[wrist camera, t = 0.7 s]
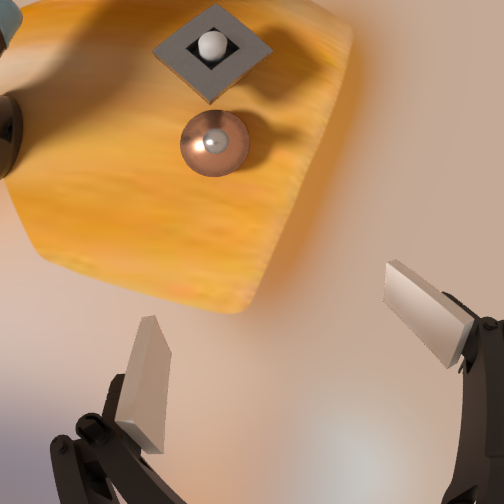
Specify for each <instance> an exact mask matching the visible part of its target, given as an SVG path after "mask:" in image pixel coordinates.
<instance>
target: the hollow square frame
mask: <svg viewBox="0 0 504 504" xmlns="http://www.w3.org/2000/svg"><path fill="white" fill-rule="evenodd" d="M210 31H217V32H220V33H222V34H224V35H225V37H226V39H227V46H228V47H229V48H230V49H231V50H232V51H233V52H234V53H233V54H232V55H230V56H229V57H228V58H226V59H225V60H224V61H222V62H221V63H220V64H219V65H217V66H216V67H215V68H214V69H212V70H210V69H209V68H208V67H207V66H206V65H204V64H203V63H202V62H201V61H200V60H199V59H197V58H196V57H195V56H194V55H193V54H191V52H192V51H193V50H195V49H196V48H197V47H198V46H199V44H198V42H199V39H200V37H201V36H202V35H203V34H205V33H207V32H210ZM152 52H153V54H154V55H155V57H156V58H157V59H158V60H159V61H160V62H162V63H163V64H164V65H165V66H166V67H167V68H169V69H170V70H171V71H172V72H173V73H174V74H176V75H177V76H178V77H179V78H180V79H181V80H183V81H184V82H185V83H186V84H187V85H188V86H189V87H190V88H192V89H193V90H194V91H195V92H196V93H197V94H198V95H199V96H200V97H201V98H202V99H204V100H205V101H206V102H207V103H208V104H209V105H211V104H212V103H213V102H214V101H215V100H217V99H218V98H219V97H220V96H221V95H222V94H223V93H225V92H226V91H227V90H228V89H229V88H231V87H232V86H233V85H234V84H235V83H237V82H238V81H239V80H240V79H242V78H243V77H244V76H245V75H247V74H248V73H249V72H250V71H252V70H253V69H254V68H256V67H257V66H258V65H260V64H261V63H262V62H264V61H265V60H266V59H268V58H269V57H270V55H271V54H272V52H273V50H272V49H271V48H270V47H269V46H268V45H267V44H266V43H265V42H263V41H262V40H261V39H260V38H259V37H258V36H257V35H256V34H254V33H253V32H252V31H251V30H250V29H249V28H247V27H246V26H245V25H244V24H242V23H241V22H240V21H239V20H238V19H236V18H235V17H234V16H232V15H231V14H230V13H229V12H227V11H226V10H225V9H223V8H222V7H221V6H219V5H218V4H217V3H216V4H214V5H213V6H211V7H210V8H208V9H207V10H205V11H204V12H202V13H201V14H199V15H198V16H196V17H195V18H193V19H192V20H191V21H189V22H188V23H187V24H185V25H184V26H183V27H181V28H180V29H179V30H177V31H176V32H175V33H173V34H172V35H171V36H170V37H168V38H167V39H166V40H165V41H164V42H162V43H161V44H160V45H159V46H158V47H156V48H155V49H154V50H153V51H152Z"/></svg>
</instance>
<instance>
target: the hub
mask: <svg viewBox="0 0 504 504" xmlns="http://www.w3.org/2000/svg"><path fill="white" fill-rule="evenodd" d="M180 148H181V153H182V156H183V158H184V160H185V162H186V163H187V165H188V166H189V167H190V168H191V169H193V170H194V171H195V172H197V173H199V174H201V175H204V176H208V177H220V176H224V175H227V174H230V173H232V172H233V171H235V170H236V169H237V168H239V167H240V166H241V165H242V163H243V162H244V161H245V159H246V157H247V155H248V152H249V148H250V137H249V133H248V130H247V128H246V126H245V125H244V123H243V122H242V121H241V120H240V119H239V118H238V117H237V116H235V115H234V114H232V113H230V112H227V111H223V110H209V111H205V112H202V113H200V114H198V115H197V116H195V117H194V118H192V119H191V120H190V121H189V122H188V124H187V125H186V126H185V128H184V130H183V133H182V135H181V141H180Z"/></svg>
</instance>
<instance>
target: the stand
mask: <svg viewBox="0 0 504 504" xmlns="http://www.w3.org/2000/svg"><path fill="white" fill-rule="evenodd" d="M198 44H199V46H198V47H197V48H196V49H195V50H193V51H192V52H191V54H193V55H194V56H195V57H196V58H197V59H199V60H200V61H201V62H202V63H203V64H204V65H206V66H207V67H208V68H209V69H210V70H212V69H214V68H215V67H216V66H217V65H219V64H220V63H221V62H222V61H224V60H225V59H226V58H228V57H229V56H230V55H232V54H233V53H234V52H233V51H232V50H231V49H230V48H229V47H228V46H227V39H226V37H225V35H224V34H222V33H220V32H217V31H210V32H207V33H205V34H203V35H202V36H201V37H200V39H199V42H198Z"/></svg>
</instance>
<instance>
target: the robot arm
mask: <svg viewBox="0 0 504 504" xmlns="http://www.w3.org/2000/svg"><path fill="white" fill-rule="evenodd" d="M22 20H23V15H22V12H21V10H20V9H19V7H18V6H17V5H16V4H15V3H14V2H13V1H12V0H0V58H1V56H2V54H3V53H4V51H5V50H7V48H8V47H9V43H10V41H11V40H12V38H13V36H14V35H15V33H16V32H17V30H18V29H19V27H20V26H21V23H22ZM22 128H23V123H22V114H21V110H20V107H19V105H18V103H17V102H16V101H15V100H14V99H13V98H11V97H9V96H1V95H0V180H1V179H2V178H3V177H5V176H6V175H7V173H8V172H9V171H10V169H11V168H12V166H13V164H14V162H15V160H16V157H17V155H18V152H19V148H20V144H21V139H22ZM383 302H384V303H385V304H386V305H387V306H388V307H389V308H390V309H391V310H392V311H393V312H394V313H395V314H396V315H397V316H398V317H399V318H400V319H401V320H402V321H403V322H404V323H405V324H406V325H407V326H408V327H409V328H410V329H411V330H412V331H413V332H414V333H415V335H416V336H417V337H418V338H419V339H420V340H421V341H422V342H423V343H424V344H425V345H426V346H427V347H428V348H429V350H430V351H431V352H432V353H433V354H434V355H435V356H436V357H437V358H438V359H439V360H440V362H441V363H442V364H443V365H444V366H445V367H446V368H447V369H448V368H450V367H451V366H453V365H455V364H456V363H457V362H458V360H459V358H460V355H461V354H462V355H463V356H464V360H463V362H462V364H461V366H460V368H459V371H458V373H460V371H461V370H462V368H463V404H462V419H461V430H460V438H459V446H458V452H457V458H456V464H455V469H454V474H453V478H452V481H451V484H450V486H449V487H448V489H447V490H446V492H445V494H444V496H443V499H442V503H441V504H474V502H475V501H476V504H504V320H501V321H497V320H495V319H493V318H491V317H483V318H480V317H479V316H477V315H476V314H475V313H474V312H472V311H471V310H470V309H469V308H467V307H466V306H465V305H463V304H462V303H461V302H460V301H458V300H457V299H456V298H455V297H453V296H452V295H450V294H448V293H445V292H440V291H439V290H438V289H436V288H435V287H434V286H432V285H431V284H430V283H428V282H427V281H426V280H424V279H423V278H422V277H420V276H419V275H417V274H416V273H415V272H414V271H412V270H411V269H409V268H408V267H407V266H405V265H404V264H402V263H401V262H399V261H398V260H393V261H389V262H387V263H386V278H385V288H384V298H383ZM170 362H171V351H170V349H169V347H168V344H167V342H166V340H165V338H164V335H163V333H162V331H161V329H160V326H159V324H158V322H157V319H156V317H155V315H154V316H148V317H142V319H141V322H140V325H139V329H138V332H137V335H136V338H135V342H134V346H133V349H132V352H131V356H130V359H129V363H128V367H127V370H126V374H117V375H116V376H115V378H114V379H113V380H112V381H111V384H110V387H109V393H108V394H107V400H106V401H105V406H104V409H103V413H102V417H101V416H100V415H99V414H96V413H88V414H85V415H83V416H82V417H81V418H80V419H79V420H78V422H77V423H76V434H77V435H78V436H79V437H81V438H82V439H78V440H71V438H70V437H69V436H67V435H59V436H57V437H55V438H54V439H53V440H52V442H51V445H50V454H51V461H52V467H53V472H54V478H55V483H56V487H57V491H58V496H59V499H60V503H61V504H120V503H119V501H118V498H117V496H116V493H115V491H114V488H113V486H112V483H113V485H114V486H115V487H116V489H117V490H118V492H119V493H120V494H121V495H122V497H123V498H124V500H125V501H126V502H127V504H187V503H186V502H185V501H183V500H182V499H181V498H180V497H179V496H178V495H177V494H176V493H175V492H174V491H173V490H172V489H171V488H170V487H169V486H168V485H167V484H166V483H165V482H164V481H163V480H162V479H161V478H160V477H159V475H158V474H157V473H156V472H155V471H154V470H153V469H152V468H151V467H150V465H148V463H147V462H146V461H145V460H144V458H142V457H141V449H143V451H145V452H146V453H147V454H164V435H165V418H166V404H167V392H168V381H169V372H170ZM111 482H112V483H111Z"/></svg>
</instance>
